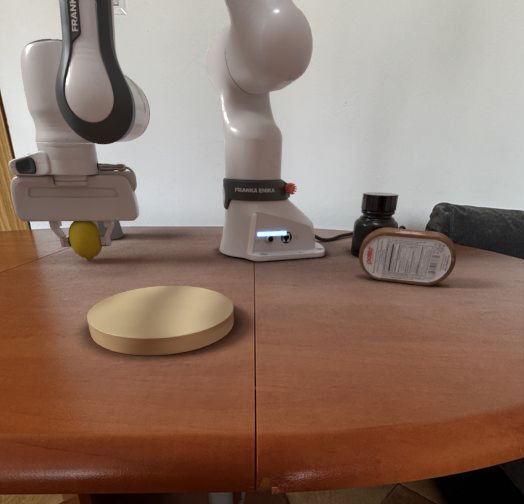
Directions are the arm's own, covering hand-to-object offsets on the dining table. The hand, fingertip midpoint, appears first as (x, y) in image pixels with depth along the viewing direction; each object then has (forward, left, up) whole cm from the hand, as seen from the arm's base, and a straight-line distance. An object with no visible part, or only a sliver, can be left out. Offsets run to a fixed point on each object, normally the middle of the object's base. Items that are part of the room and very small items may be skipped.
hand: (86, 246), depth 70 cm
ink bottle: (-57, -1, -3) cm, 57 cm away
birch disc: (-16, +31, -3) cm, 35 cm away
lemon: (0, 0, -3) cm, 3 cm away
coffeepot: (+2, -24, -3) cm, 24 cm away
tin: (-54, +18, -3) cm, 57 cm away
